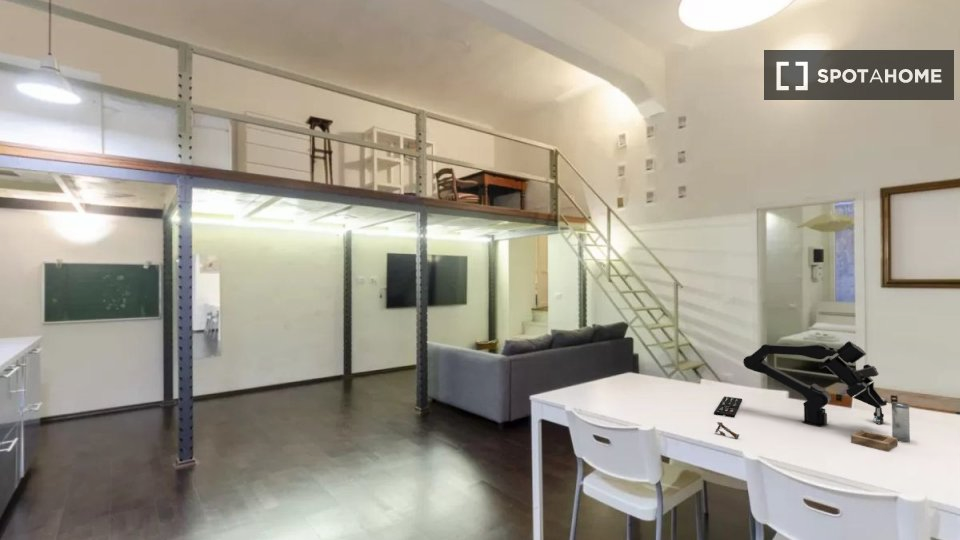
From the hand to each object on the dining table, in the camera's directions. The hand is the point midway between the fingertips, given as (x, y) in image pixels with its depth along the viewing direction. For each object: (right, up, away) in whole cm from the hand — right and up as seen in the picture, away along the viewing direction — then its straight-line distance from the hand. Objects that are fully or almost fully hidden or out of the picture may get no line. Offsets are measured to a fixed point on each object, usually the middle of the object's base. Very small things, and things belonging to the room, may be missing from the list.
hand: (881, 405), depth 165 cm
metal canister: (+4, -11, -4) cm, 13 cm away
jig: (-10, -11, -8) cm, 17 cm away
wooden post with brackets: (-57, -12, 0) cm, 58 cm away
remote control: (-36, -13, +37) cm, 53 cm away
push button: (+13, -12, +15) cm, 23 cm away
